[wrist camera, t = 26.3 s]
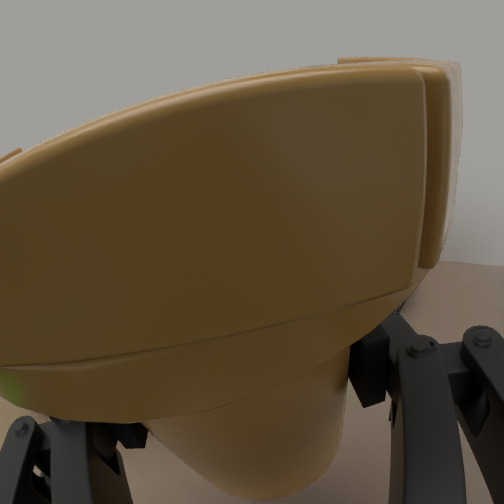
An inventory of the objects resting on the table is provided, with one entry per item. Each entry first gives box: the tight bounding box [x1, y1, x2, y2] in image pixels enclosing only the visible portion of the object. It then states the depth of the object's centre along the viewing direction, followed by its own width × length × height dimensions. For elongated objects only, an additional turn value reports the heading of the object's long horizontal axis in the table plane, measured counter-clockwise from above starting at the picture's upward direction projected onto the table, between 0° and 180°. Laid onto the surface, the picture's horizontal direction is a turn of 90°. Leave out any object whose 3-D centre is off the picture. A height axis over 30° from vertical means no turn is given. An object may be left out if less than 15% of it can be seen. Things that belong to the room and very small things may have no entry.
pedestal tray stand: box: [0, 57, 463, 500], centre depth 9 cm, size 11×11×14 cm
